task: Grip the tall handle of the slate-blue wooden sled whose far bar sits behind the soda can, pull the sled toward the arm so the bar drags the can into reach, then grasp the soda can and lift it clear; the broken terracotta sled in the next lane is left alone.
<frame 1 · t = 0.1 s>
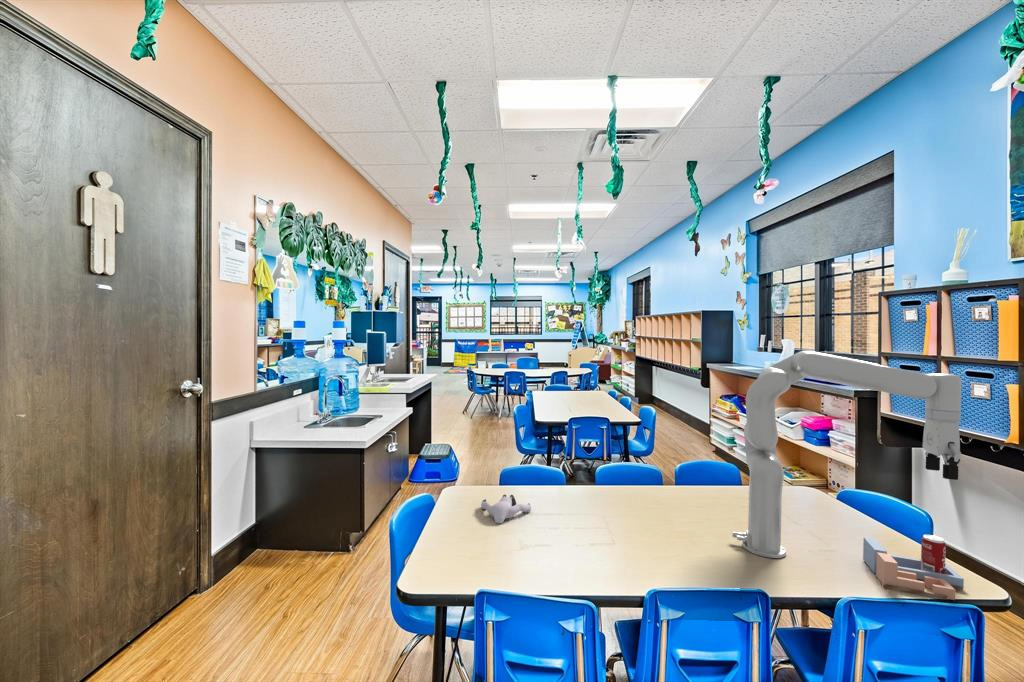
hand: (941, 474, 131), 31 cm above the table, fingers open, 9 cm apart
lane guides: (919, 583, 129), on the table
terracotta sled: (899, 572, 128), point 4 cm above the table, slide at 0.0 cm
soda can: (932, 578, 132), resting in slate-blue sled
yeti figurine: (502, 515, 173), on the table
broken strip end: (886, 582, 129), on the table
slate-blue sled: (910, 561, 134), point 4 cm above the table, slide at 0.0 cm
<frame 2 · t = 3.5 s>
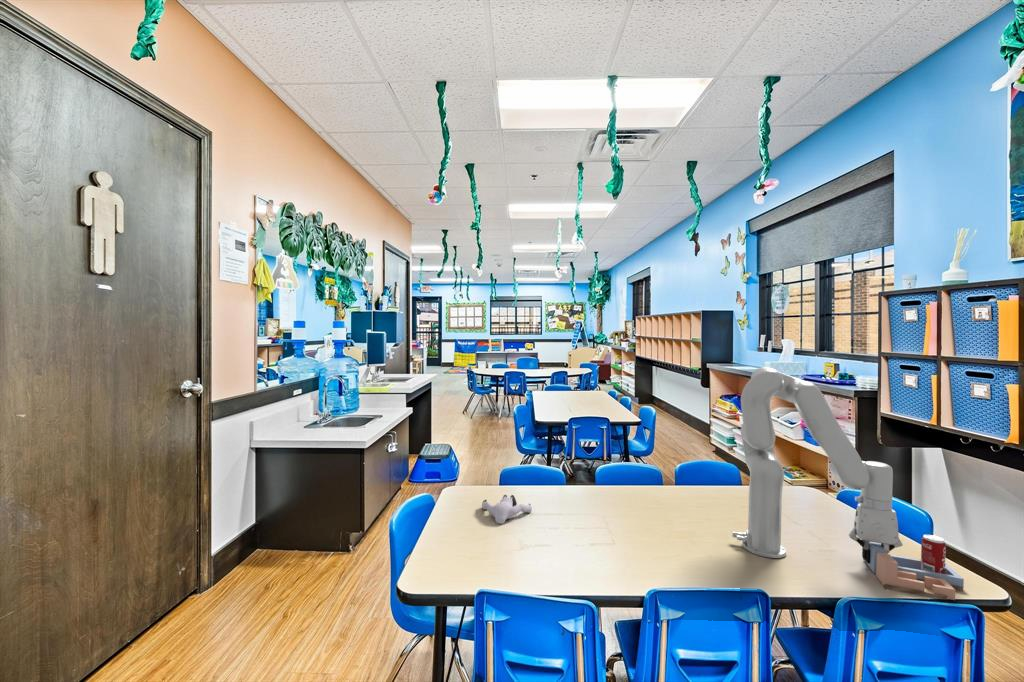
hand: (874, 562, 138), 2 cm above the table, fingers closed on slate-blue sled, 3 cm apart
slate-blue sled: (910, 561, 134), point 4 cm above the table, slide at 0.0 cm, touching gripper
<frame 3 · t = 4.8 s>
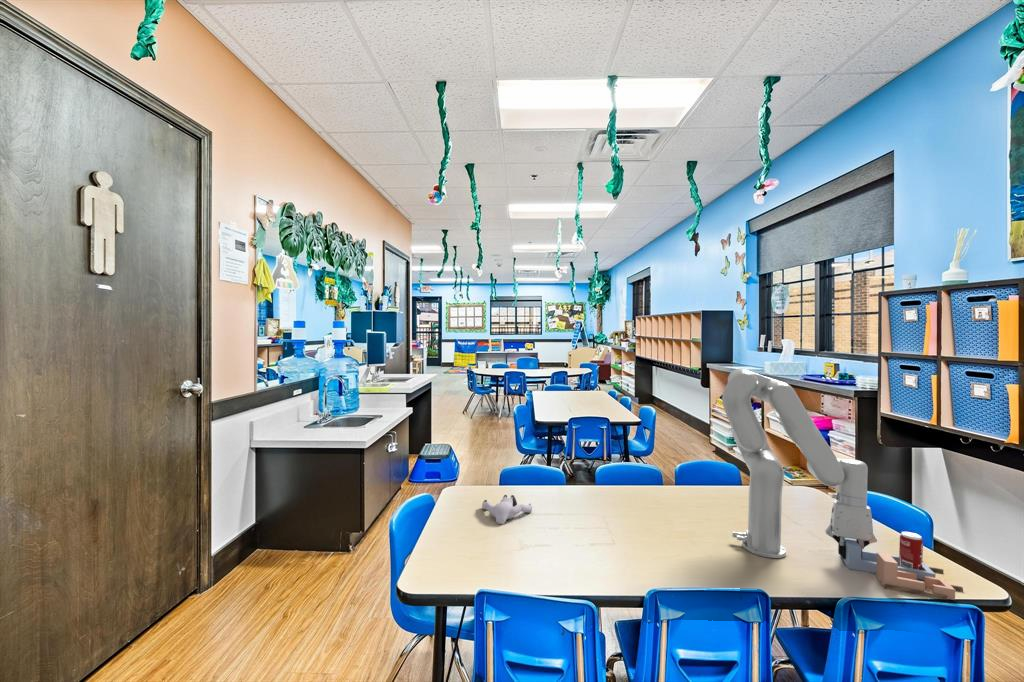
hand: (849, 557, 140), 2 cm above the table, fingers closed on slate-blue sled, 3 cm apart
soda can: (910, 575, 134), resting in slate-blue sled
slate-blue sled: (884, 557, 137), point 4 cm above the table, slide at 6.2 cm, touching gripper, soda can
everything else where it was.
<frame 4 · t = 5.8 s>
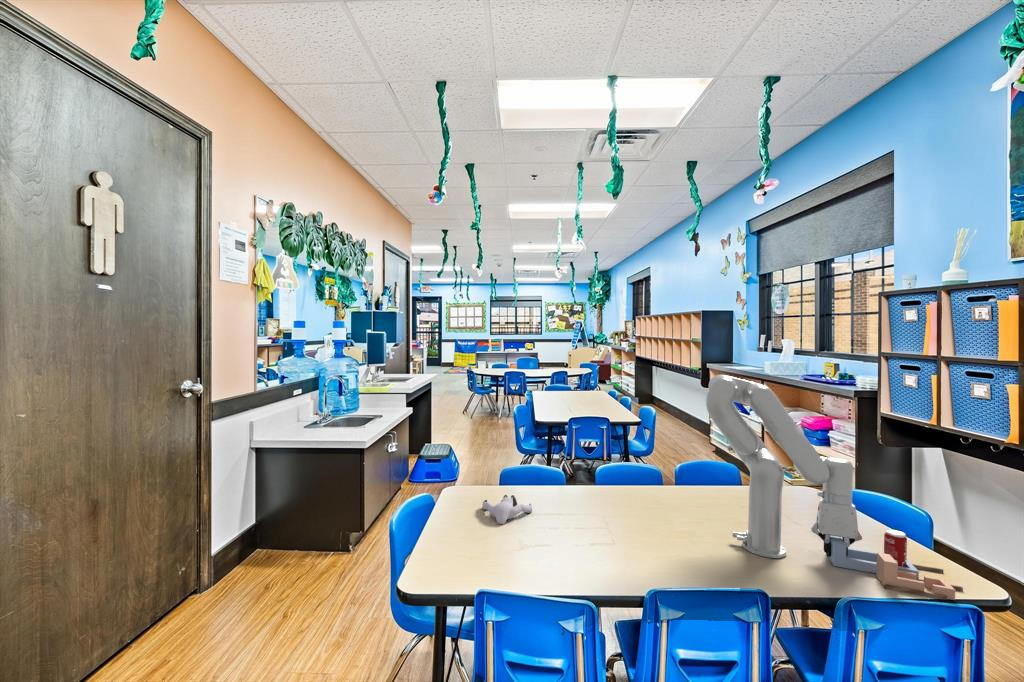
hand: (835, 555, 142), 2 cm above the table, fingers open, 3 cm apart
soda can: (894, 572, 136), resting in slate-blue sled
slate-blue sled: (869, 554, 138), point 4 cm above the table, slide at 10.0 cm
everything else where it was.
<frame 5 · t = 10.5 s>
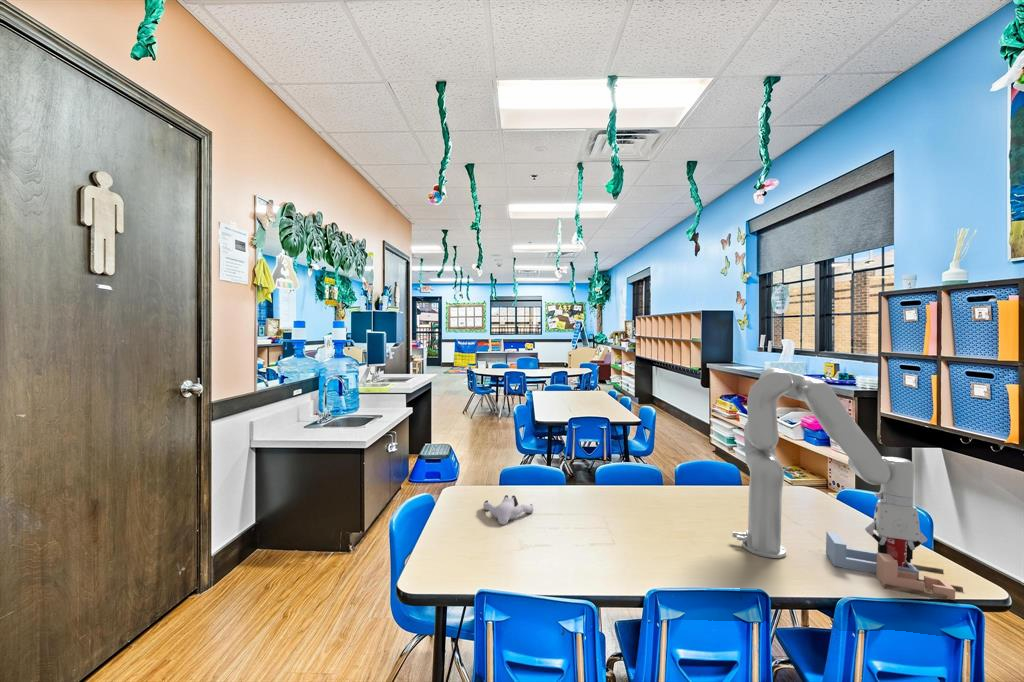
hand: (894, 558, 136), 4 cm above the table, fingers closed on soda can, 5 cm apart
soda can: (894, 572, 136), resting in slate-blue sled, touching gripper
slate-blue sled: (869, 554, 138), point 4 cm above the table, slide at 9.9 cm, touching soda can
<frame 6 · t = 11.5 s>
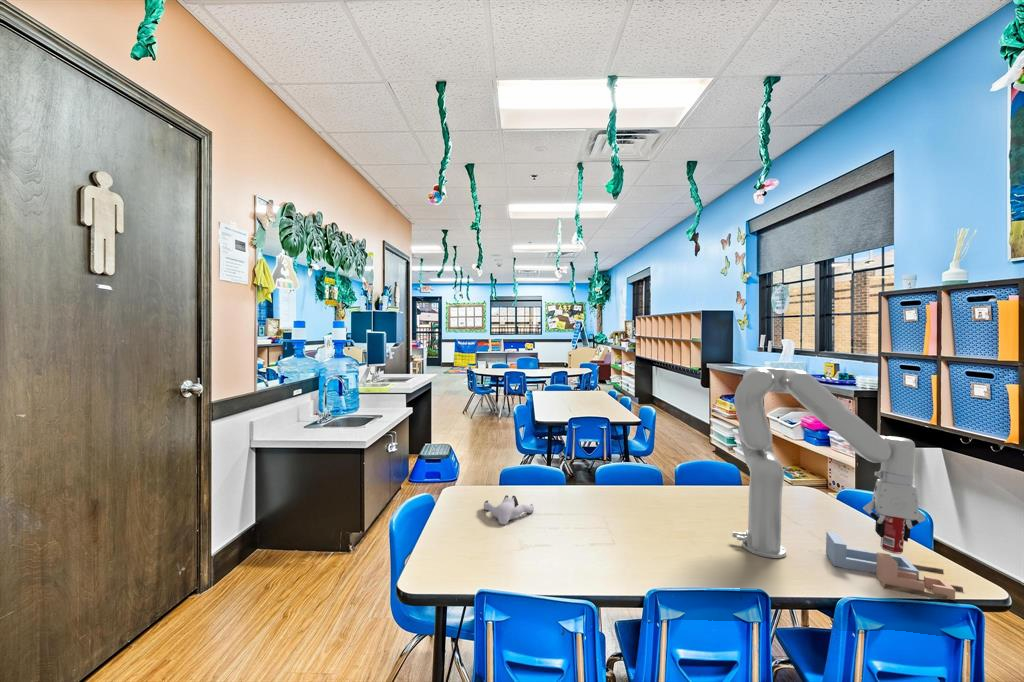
hand: (892, 536, 136), 10 cm above the table, fingers closed on soda can, 5 cm apart
soda can: (891, 550, 136), point 6 cm above the table, touching gripper
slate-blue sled: (869, 554, 138), point 4 cm above the table, slide at 9.9 cm
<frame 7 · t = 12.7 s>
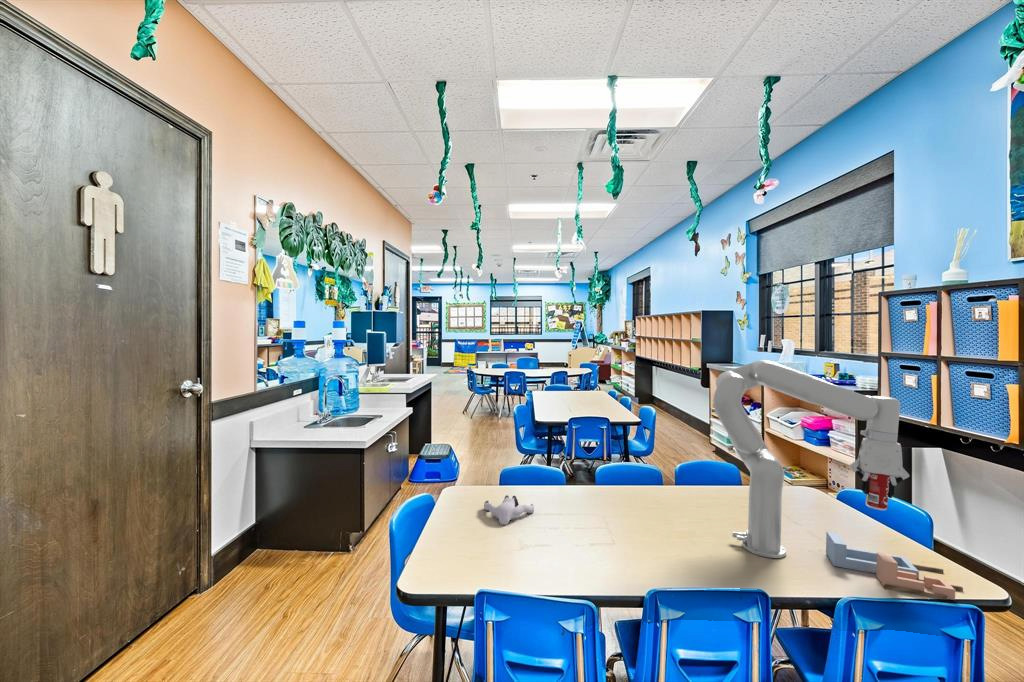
hand: (876, 494, 139), 22 cm above the table, fingers closed on soda can, 5 cm apart
soda can: (876, 507, 139), point 18 cm above the table, touching gripper
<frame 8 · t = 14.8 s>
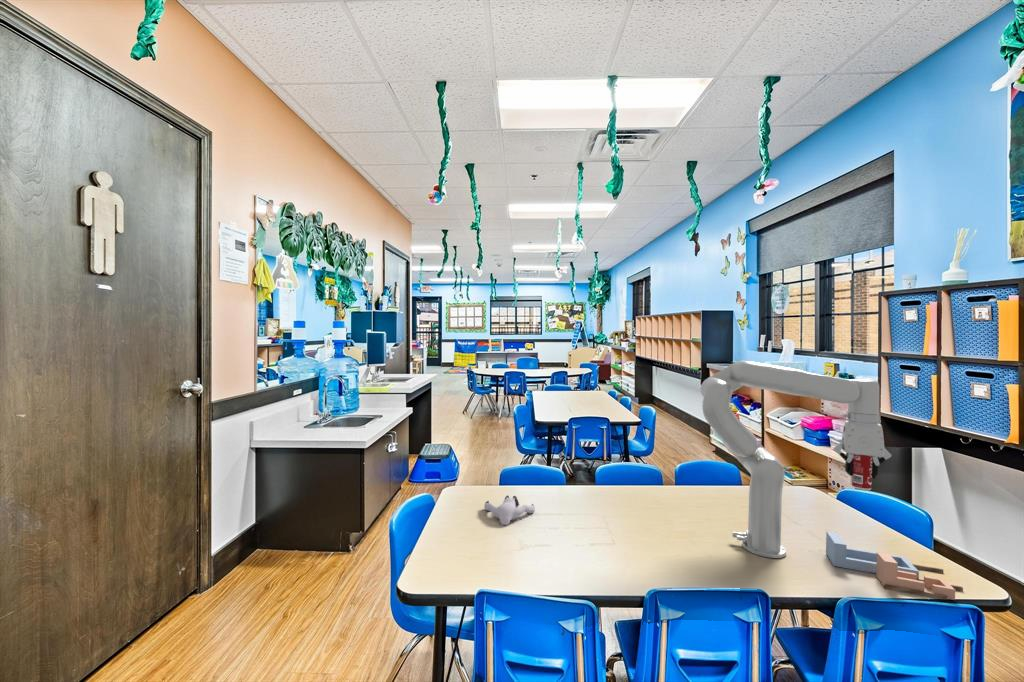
hand: (861, 475, 142), 27 cm above the table, fingers closed on soda can, 5 cm apart
soda can: (860, 488, 141), point 23 cm above the table, touching gripper
at the end: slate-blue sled slide at 9.9 cm; soda can point 23.1 cm above the table; the gripper is holding soda can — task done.
